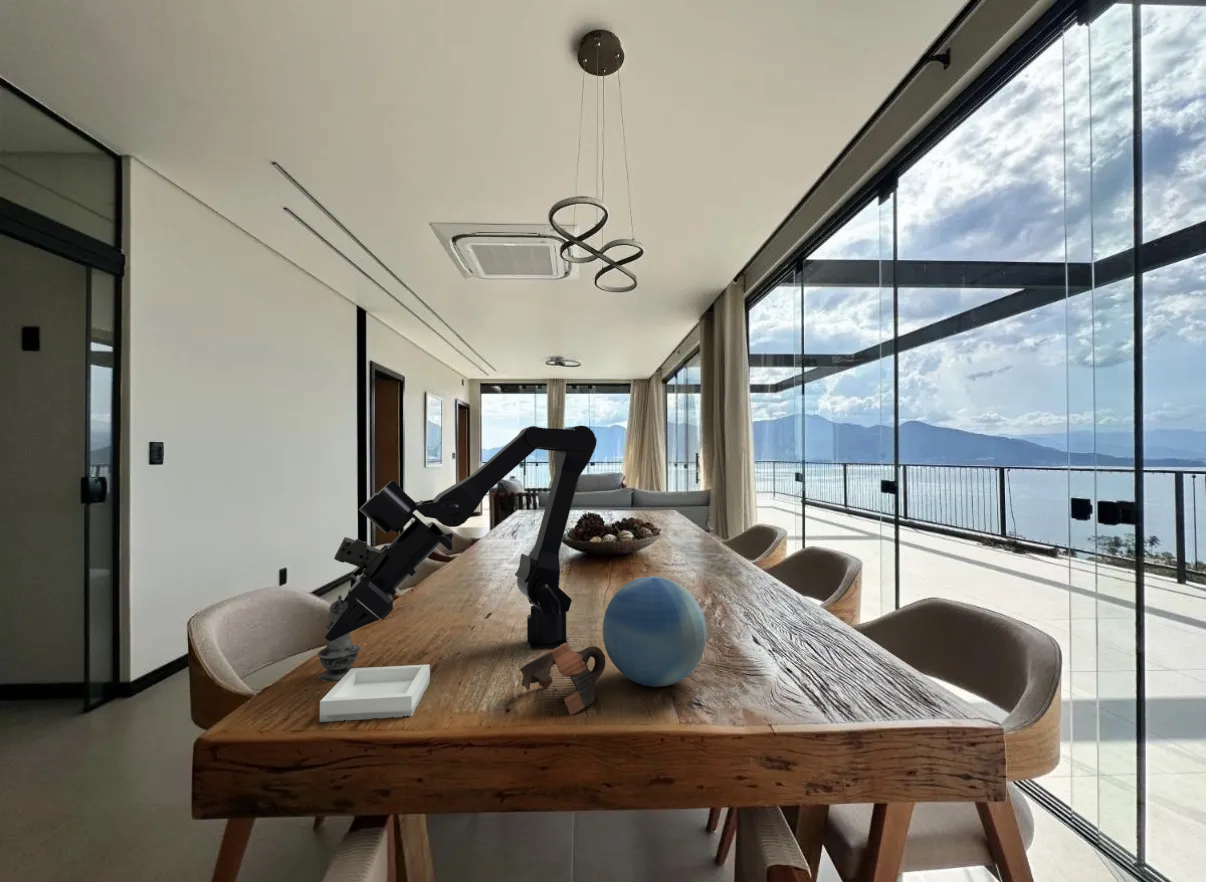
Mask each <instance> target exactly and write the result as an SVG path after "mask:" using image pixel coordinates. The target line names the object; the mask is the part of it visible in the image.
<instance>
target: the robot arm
mask: <svg viewBox="0 0 1206 882" xmlns="http://www.w3.org/2000/svg"><path fill="white" fill-rule="evenodd" d="M597 442H598V441H597V436H596V435H595V433H594V432H593V430H592V429H591V427H588V426H586V425H575V426H572V427H566V428H555V427H554V428H553V427H551V428H549V427H539V426H535V425H532V426H528V427H524V428H522V429H521V430H520V431H519V433H518V434H517V435H516V436H515V437H514V438H512V440H510V441H509V442H508V443H507V444H506V445H505V446H503V448H501V449H500V450H499V451H498V452H497V453H495V454H494V455H493V456H491V458H490V459H488V460H487V461H486V462H485V463H484V464H482V466H480V467H479V468H478V469H477V470H476V471H474V472H473V473H472V474H470V475H469V476H468V477H465V478H464V479H462V480H460V481H458V482H457V483H456V482H455V484H453V485H451V486H450V487H448V488H446V489H444V490H442V491H441V492H439V493H438V494H437V495H436V496H434V498H433V499H429V500H422V499H421V500H419V501H416V500H414V499H412V498H411V497H410V495H408V494H407V493H406V492H405V491H404V490H402V488H401V486H400V485H399V484H398V482H397V481H395V480H391V481H389V482H388V483H387V484H386V485H385V486H384V487H383V488H381V489H380V490H379V491H378V492H375V493H374V494H373V495H372V496H371V497H370V498H369V499H368V500H367V501H365V503H364V504H363V505H361V507H359V509H358V510H359V511H360V512H361V513H362V514H363V515H364V516H365V517H366V518H368V519H369V520H370V521H371V522H372V523H373V524H374V525H376V527H378V528H379V529H380V530H381V531H382V532H384V534H388V533H389V532H390V531H391V532H393V533H394V534H397V533H398V532H400V531H401V530H402V529H403V528H404V527H405V526H406V525H407V524H408V523H409V525H408V526H407V527H406V528H405V529H404V530H403V531H402V532H401V533H400V534H399V535H398V536H397V537H396V538H395V539H394V540H393V541H392V542H391V543H390V544H389V543H387V544H384V545H383V546H382V547H381V548H380V549H378V548H376V547H374V546H371V545H369V544H368V543H367V541H362V540H360V538H356V539H353V538H351V537H347V536H345V537H344V538H343V540H342V541H341V543H340V545H339V547H338V549H337V552H336V553H335V555H334V558H333V559H334V560H336V561H337V562H340V563H343V564H344V563H347V564H349V565H351V566H354V567H356V568H355V569H353V571H352V572H353V573H352V574H351V576H350V583H349V584H350V587H349V589H348V591H347V594H346V595H345V597H344V598H343V599H342V600H343V601H346V602H348V605H347V606H346V608H345V609H344V610H343V612H342V613H341V615H340V616H339V617H338V619H337V620H336V621H335V623H334V624H333V626H332V627H331V628H330V630H328V631H327V633H326V634H325V635H324V638H325V639H326V640H327V642H328V641H333V640H335V639H337V638H339V637H341V636H343V635H346V634H348V633H350V634H351V633H352V632H354V631H357V630H359V629H360V628H363V627H364V626H365V627H366V626H367V625H370V624H372V623H374V622H378V621H380V620H384V619H385V618H386V617H388V615H389V614H390V613H391V612H392V611H393V609H394V599H393V597H394V596H395V595H396V594H397V589H398V588H399V587H400V586H401V585H402V584H403V583H404V582H405V581H406V580H407V579H408V578H409V576H410V577H413V576H414V575H415V574H416V573H417V570H416V569H417V568H418V567H419V566H420V565H421V564H422V563H423V562H424V561H425V560H426V559H428V557H429V556H430V555H431V554H432V553H433V552H434V551H435V550H436V549H437V548H438V547H439V546H440V545H442V546H443V547H445V549H446V550H447V551H453V536H454V534H453V532H451V531H448V532H445V531H443V530H442V529H441V528H440V527H439V526H438V525H437V524H436V523H435V522H434V521H431V522H429V523H428V524H426V523H425V522H424V521H422V520H421V519H420V518H419V517H418V516H417V515H416V514H414V513H415V511H417V512H418V513H419V514H420V515H421V516H423V517H424V518H428V519H429V518H430V519H435V520H436V521H437V522H438V523H439V524H441V525H443V526H445V527H449V528H457V527H460V526H462V525H463V524H465V523H466V522H467V521H468V519H469V518H470V517H471V516H472V514H474V512H475V511H476V510H477V508H479V506H480V504H481V503H482V501H483V500H484V498H485V497H486V495H487V494H488V492H490V491H491V490H492V489H494V487H495V486H497V484H498V483H499V482H501V481H502V480H503V479H504V478H505V477H506V476H508V475H509V473H512V471H513V470H514V469H515V468H516V467H517V466H519V465H520V464H521V463H522V462H523V461H524V460H526V459H527V458H528V457H529V456H530V455H531V454H532V453H533V452H534V451H536V450H543V451H550V452H551V451H552V452H553V454H554V455H553V459H554V462H553V463H554V475H553V479H552V483H551V487H550V489H549V493H548V498H547V500H546V504H545V507H544V511H543V515H542V519H541V523H540V526H539V531H538V533H537V538H536V541H535V545H534V547H533V548H532V550H531V551H530V553H529V555H527V554H524V553H521V554H520V558H519V564H518V565H519V566H518V568H517V570H516V572H515V573H514V576H515V577H517V580H516V585H517V587H518V589H519V592H520V593H522V594H523V595H524V596H525V597H526V598H527V600H528V603H529V604H530V605H531V606H530V614H528V615H527V619H526V620H527V621H526V623H527V624H526V625H527V626H526V629H527V632H526V637H527V640H526V641H527V642H528V643H529V649H532V650H533V649H549V648H550V649H551V648H553V649H555V648H557V647H558V646H560V645H562V644H564V643H568V644H569V642H568V637H567V633H568V632H567V613H568V612H569V610H570V607H571V605H572V601H573V600H572V598H571V597H570V596H569V595H568V594H567V593H565V591H564V590H562V589H561V588H560V577H561V566H560V565H561V562H560V551H561V547H562V542H563V539H564V535H565V531H566V528H567V524H568V520H569V516H570V512H571V508H572V504H573V502H574V497H575V494H576V491H577V490H576V489H577V486H578V483H579V479H580V476H581V474H582V473H583V472H584V470H585V468H586V467H587V466H588V464H589V463H590V461H591V459H592V456H593V454H594V452H595V450H596V447H597ZM412 519H413V521H412V522H411V523H410V521H411V520H412Z"/></svg>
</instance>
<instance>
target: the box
mask: <svg viewBox="0 0 1206 882" xmlns="http://www.w3.org/2000/svg"><path fill="white" fill-rule="evenodd" d="M430 681H431V664H413V665H393V666H392V665H391V666H376V667H375V666H373V667H371V666H370V667H354V668H351V669H350V670H349V672H348V673H347V674H346V675H345V676H344V677H343V678H342V679H341V680H339V681H338V682H337V683H336V684H335V685H334V686H333V687H332V688H331V689H330V690H329V691H328V692H327V694H325V695H324V696H323V698H321V700H320V701H319V723H324V722H325V723H326V722H329V723H330V722H342V721H343V722H344V720H345V721H357V720H361V721H362V720H372V719H373V718H374V719H373V720H375V718H377V719H389V718H390V717H391V718H392V717H393V718H405V717H406V716H409V717H413V715H414V712H415V711H416V708H417V707H418V705H419V703H420V701H421V699H422V697H423V695H424V693H425V692H426V690H427V688H428V686H429V684H430ZM403 716H405V717H403ZM406 718H407V717H406Z"/></svg>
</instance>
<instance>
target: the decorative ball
mask: <svg viewBox="0 0 1206 882" xmlns="http://www.w3.org/2000/svg"><path fill="white" fill-rule="evenodd" d="M604 612H605V613H604V616H603V622H602V624H603V625H602V639H603V644H604V649H605V651H606V653H607V656H608V658H609V659H610V661H611V663H612V664H613V665H614V667H616V669H617V670H618V671H619V672H620V673H621V674H622V676H624V677H625V678H627V679H629V680H630V681H632V682H634V683H637V684H638V685H642V686H645V687H646V686H647V687H652V688H657V687H659V688H660V687H667V686H671V685H673V684H676V683H678V682H680V681H682V680H683V679H685V678H686V677H687V676H689V675H690V674H691V673H692V672H693V671H694V670H695V668H696V667H697V665H698V664H699V662H700V660H701V658H702V656H703V654H704V651H705V649H706V643H707V638H708V637H707V635H708V630H707V623H706V617H705V615H704V613H703V611H702V608H701V606H700V604H699V603H698V601H697V600H696V598H695V597H694V595H693V594H692V593H691V591H690V590H688V589H687V588H686V587H684V586H683V585H681V584H680V583H678V582H677V581H674V580H671V579H669V578H666V577H661V576H645V577H640V578H637V579H635V580H632V581H630V582H628V583H627V584H624V585H623V586H622V587H621V588H620V589H619V590H617V592H616V593H615V594H614V595H613V596H612V598H611V599H610V601H609V603H608V604H607V607H606V610H605V611H604Z"/></svg>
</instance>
